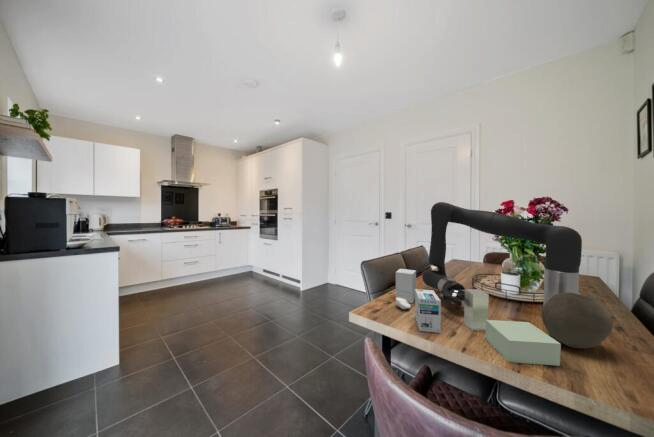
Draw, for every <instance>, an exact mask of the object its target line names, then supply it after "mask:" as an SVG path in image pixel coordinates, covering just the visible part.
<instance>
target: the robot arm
mask: <svg viewBox="0 0 654 437" xmlns="http://www.w3.org/2000/svg"><path fill="white" fill-rule="evenodd" d="M430 218H431V220H430V221H431V222H430V223H431V233H430V234H431V236H430V244H429V245H430V246H429V252H428V253H429V254H428V264H429V265H430V266H433V267H436V268H437V270H436V269H435V270H433V269H426V270H424V271H423V273H422V276H421V278H422V281H423V282H424V284H425V285H426V286H429V287H430V288H432V289H435V290H437V291H439V292H440V299H441V300H442V301H444V302H445V303H446V304H448V303H451V304H454V305H456V306H457V307H459V308H462V307H463V304H462V303H463V302H465V289H466V288H465V286H464V285H463V284H461V283H460V282H457V281H456V280H455V279H452V278H450V277H448V276H447V271H446V263H445V261H446V256H447V230H448V229H447V227H448V224H449V223H452V224H459V225H463V226H467V227H469V228H471V229H474V230H475V231H479V232H481V233H485V234H490V235H492V236H493V235H494V236H496V237H497V236H498V237H503V238H507V239H508V238H510V239H517V240H518V239H520V240H526V241H530V242H534V243H537V244H541V245H544V246H545V260H544V270H543V272H544V275H543V276H544V278H543V301H542V302H543V307H544V305H545V304H546V302H547V301H548V300H549V299H550V298H551V297H552V296H554V295H556V294H559V293H575V294H579V295H582V294H581V292H579V284H580V283H579V281H580V278H579V276H580V266H581V263H582V250H583V247H582V246H583V240H582V239H583V238H582V235H581V234H580V233H579V232H578V231H577V230H575V229H574V228H571V227H569V226H564V225H553V224H545V223H537V222H533V221H530V220H526V219H522V218H519V217H516V216H513V215H508V214H504V213H499V212H494V211H489V210H488V211H487V210H479V209H469V208H464V207H460V206H458V205H454V204H452V203H448V202H444V201H440V202H436V203H435V204H433V205H432V207H431V209H430ZM543 307H542V308H543Z"/></svg>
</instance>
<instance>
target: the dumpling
mask: <svg viewBox="0 0 654 437" xmlns="http://www.w3.org/2000/svg"><path fill="white" fill-rule="evenodd" d="M395 303H396V305H397V306H398V307H399V308H400V309H402V310H403V311H404V310H408V309H411V308H412V307H411V306H412V305H411V303H408V302H407V301H406V299H402V298H396V297H395Z"/></svg>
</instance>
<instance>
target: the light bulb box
mask: <svg viewBox="0 0 654 437" xmlns="http://www.w3.org/2000/svg"><path fill="white" fill-rule="evenodd" d="M414 303H415V304H414V305H415V306H414V308H415V310H414V319H415V322H416V325H417V328H418V330H419V332H426V333H427V332H428V333H439V334H441V333H442V332H441V328H442V327H441V324H442V322H441V320H442V319H441V318H442V316H441V315H442V312H441V311H442V299H441V298H440V297H439V296H438V295H437V294H436V292H435V290H434V289H433V290H432V289H421V288H420V289H419V288H416V289H415V300H414Z"/></svg>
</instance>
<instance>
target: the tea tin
mask: <svg viewBox="0 0 654 437" xmlns="http://www.w3.org/2000/svg"><path fill="white" fill-rule="evenodd" d="M489 298H490V297H489V293H488V292H486V291H484V290H481V289H479V288H465V301H464V308H463V309H464V311H463V312H464V313H463V315H464V316H463V317H464V318H463V319H464V320H463V323H464V325H466V326H467V328H469V329H470V330H472V331H485V330H486V320H489Z"/></svg>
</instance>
